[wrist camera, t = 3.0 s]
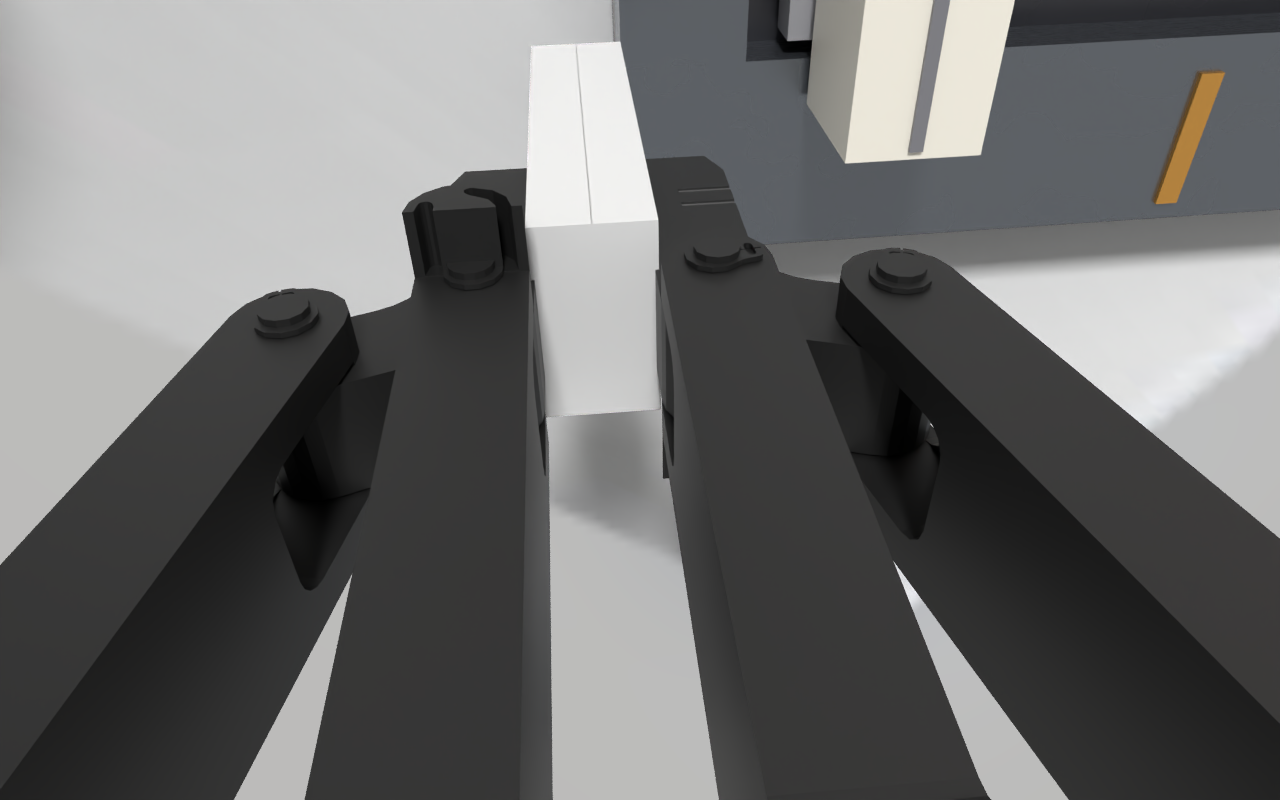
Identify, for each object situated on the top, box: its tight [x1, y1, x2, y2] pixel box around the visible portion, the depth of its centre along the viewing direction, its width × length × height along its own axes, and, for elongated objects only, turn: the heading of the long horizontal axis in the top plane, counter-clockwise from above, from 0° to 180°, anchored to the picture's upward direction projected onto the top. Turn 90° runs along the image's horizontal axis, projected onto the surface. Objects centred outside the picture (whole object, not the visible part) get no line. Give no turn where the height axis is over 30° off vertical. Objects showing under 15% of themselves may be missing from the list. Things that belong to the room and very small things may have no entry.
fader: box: [778, 0, 1015, 164], centre depth 20 cm, size 4×5×5 cm
